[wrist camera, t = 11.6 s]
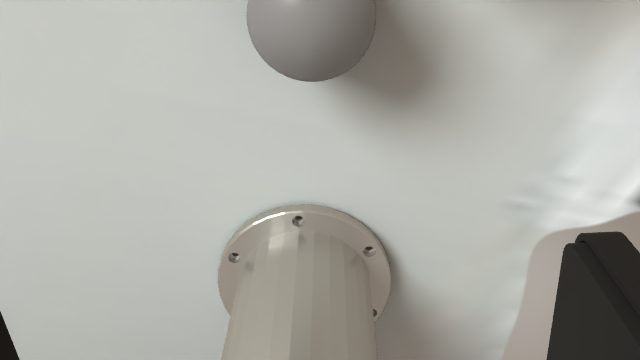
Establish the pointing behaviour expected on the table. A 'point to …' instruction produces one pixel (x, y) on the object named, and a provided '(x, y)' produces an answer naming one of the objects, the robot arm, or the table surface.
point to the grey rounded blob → (311, 35)
